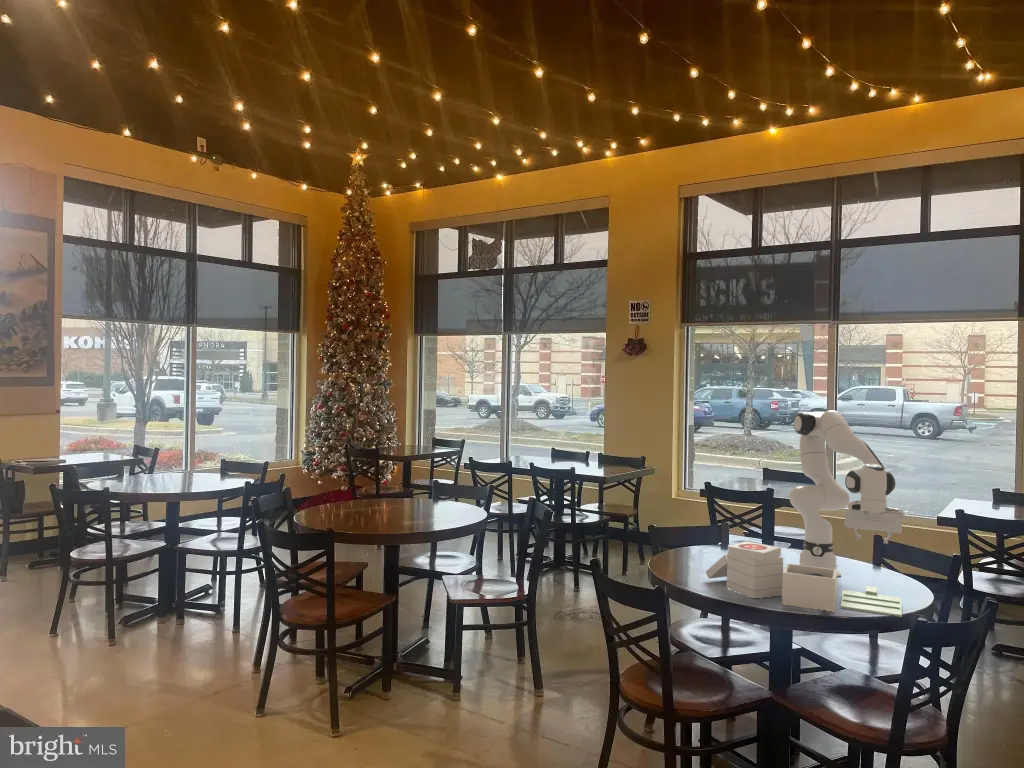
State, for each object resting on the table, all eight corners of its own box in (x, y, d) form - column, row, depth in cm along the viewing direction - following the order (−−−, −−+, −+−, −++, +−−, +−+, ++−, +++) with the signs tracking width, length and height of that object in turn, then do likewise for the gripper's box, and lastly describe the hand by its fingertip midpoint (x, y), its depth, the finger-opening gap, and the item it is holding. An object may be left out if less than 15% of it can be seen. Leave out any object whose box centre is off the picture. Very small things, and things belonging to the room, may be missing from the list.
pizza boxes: (736, 577, 303) (737, 535, 304) (790, 596, 276) (791, 550, 276) (700, 581, 296) (701, 538, 296) (752, 601, 268) (753, 553, 268)
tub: (786, 593, 280) (787, 563, 280) (836, 600, 271) (837, 569, 272) (782, 604, 265) (782, 572, 265) (834, 612, 257) (835, 579, 257)
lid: (843, 591, 283) (843, 582, 283) (900, 599, 274) (900, 590, 274) (840, 612, 262) (840, 603, 262) (901, 621, 253) (902, 612, 253)
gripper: (903, 507, 272) (902, 543, 273) (844, 502, 282) (843, 536, 282) (904, 510, 267) (903, 546, 267) (844, 504, 276) (843, 540, 276)
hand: (872, 541), depth 274 cm, fingers open, 8 cm apart
